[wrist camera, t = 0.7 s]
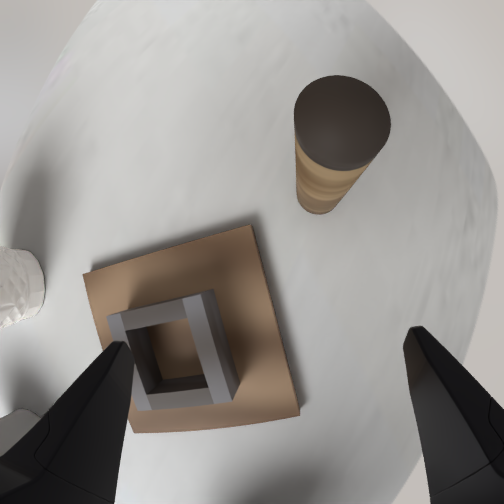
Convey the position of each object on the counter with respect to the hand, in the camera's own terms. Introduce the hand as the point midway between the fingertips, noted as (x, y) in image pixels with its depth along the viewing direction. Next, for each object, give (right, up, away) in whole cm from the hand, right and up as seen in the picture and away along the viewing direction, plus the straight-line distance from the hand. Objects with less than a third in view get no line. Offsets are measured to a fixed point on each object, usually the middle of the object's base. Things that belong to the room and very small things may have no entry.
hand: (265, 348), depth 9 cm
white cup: (-23, 0, +16) cm, 28 cm away
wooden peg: (+4, +7, +12) cm, 15 cm away
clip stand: (-5, -4, +14) cm, 15 cm away
